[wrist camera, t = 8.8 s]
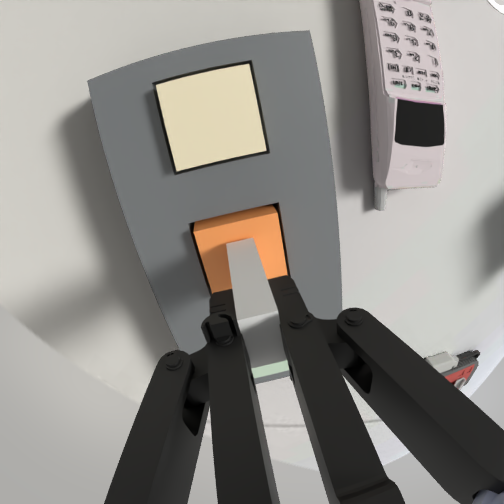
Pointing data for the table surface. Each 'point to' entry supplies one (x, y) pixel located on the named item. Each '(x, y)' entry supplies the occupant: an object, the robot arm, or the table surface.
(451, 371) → the walkie-talkie
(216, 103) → the sand button
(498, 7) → the white candle holder
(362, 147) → the table surface
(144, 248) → the button console
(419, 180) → the mobile phone
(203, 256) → the orange button
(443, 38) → the table surface
